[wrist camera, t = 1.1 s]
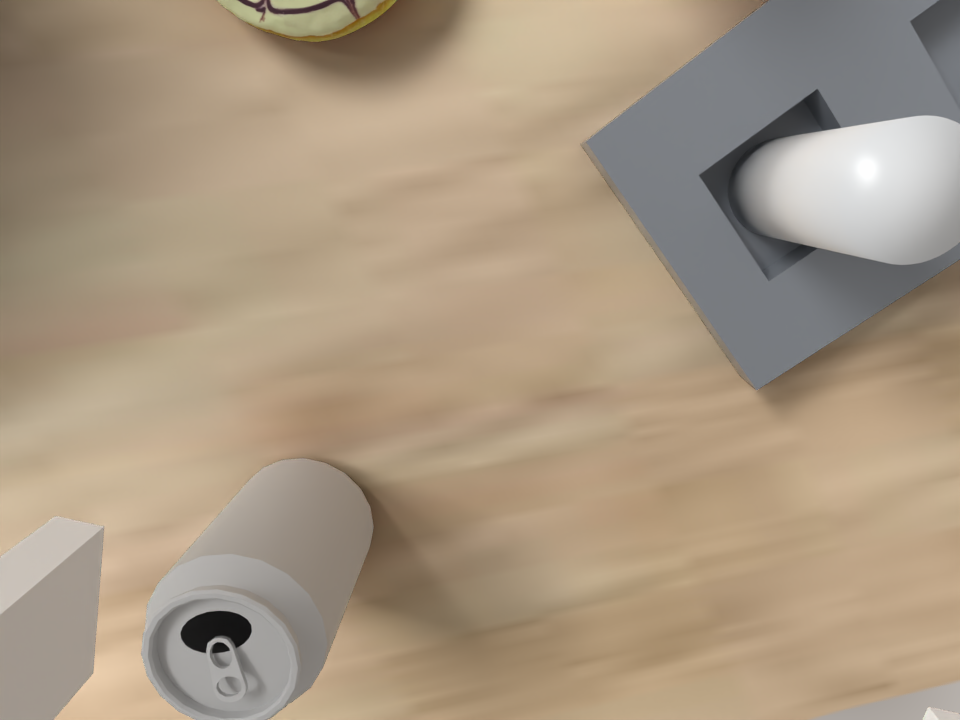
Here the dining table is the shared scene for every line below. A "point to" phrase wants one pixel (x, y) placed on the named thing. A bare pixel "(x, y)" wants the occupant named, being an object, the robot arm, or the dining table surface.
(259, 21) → the decorated donut
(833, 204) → the white rounded peg
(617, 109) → the dining table surface
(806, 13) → the housing
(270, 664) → the can
